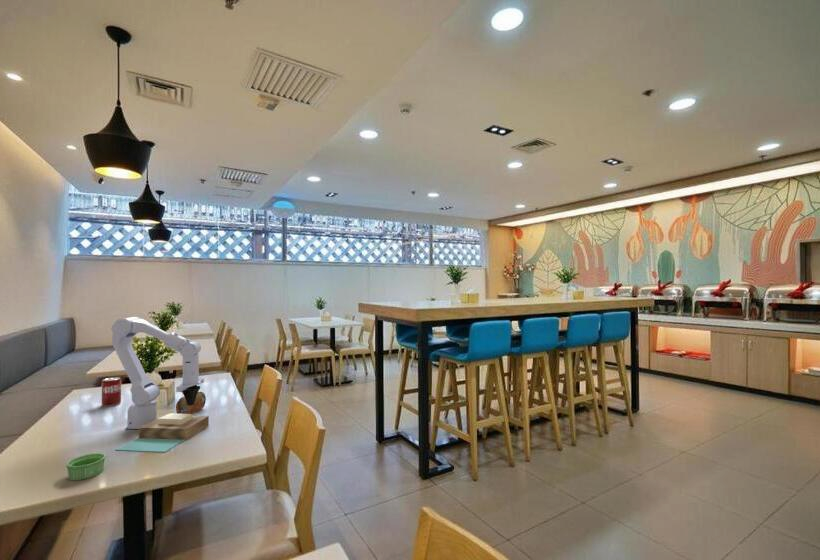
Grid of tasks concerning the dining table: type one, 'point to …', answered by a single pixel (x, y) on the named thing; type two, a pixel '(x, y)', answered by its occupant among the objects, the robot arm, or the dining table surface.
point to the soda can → (111, 391)
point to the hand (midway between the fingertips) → (190, 405)
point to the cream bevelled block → (174, 419)
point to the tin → (198, 405)
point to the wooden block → (174, 429)
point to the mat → (150, 445)
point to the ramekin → (85, 466)
